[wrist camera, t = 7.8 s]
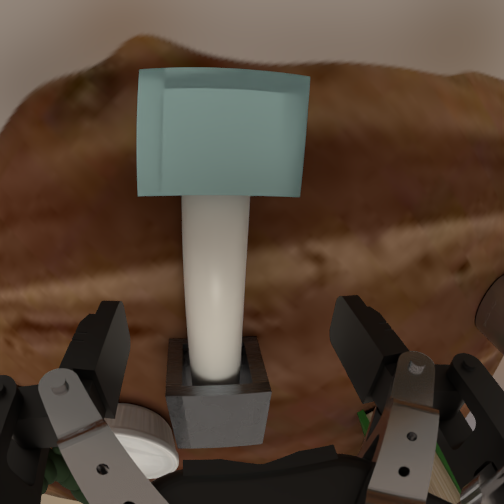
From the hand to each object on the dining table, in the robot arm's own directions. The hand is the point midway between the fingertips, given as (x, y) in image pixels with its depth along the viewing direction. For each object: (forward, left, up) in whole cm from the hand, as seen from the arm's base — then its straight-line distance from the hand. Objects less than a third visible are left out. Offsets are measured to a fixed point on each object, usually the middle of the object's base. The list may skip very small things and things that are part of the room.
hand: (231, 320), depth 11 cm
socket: (0, -6, -12) cm, 13 cm away
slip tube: (0, +5, -12) cm, 13 cm away
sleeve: (0, +15, -12) cm, 19 cm away
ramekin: (+10, +25, -12) cm, 29 cm away
